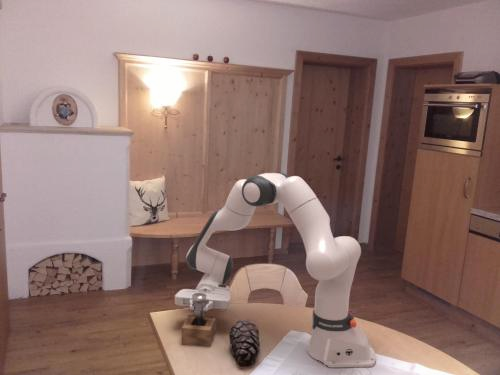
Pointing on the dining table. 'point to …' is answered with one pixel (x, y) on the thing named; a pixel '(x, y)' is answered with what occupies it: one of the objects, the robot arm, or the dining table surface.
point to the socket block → (199, 331)
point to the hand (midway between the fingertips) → (198, 308)
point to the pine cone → (244, 342)
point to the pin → (199, 307)
